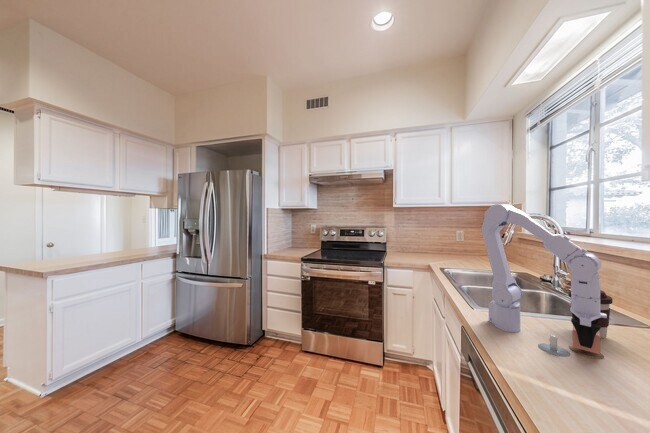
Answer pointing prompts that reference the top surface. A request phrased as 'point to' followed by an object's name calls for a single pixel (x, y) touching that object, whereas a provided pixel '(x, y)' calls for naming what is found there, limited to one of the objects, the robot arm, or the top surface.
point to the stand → (554, 348)
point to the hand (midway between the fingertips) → (585, 342)
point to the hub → (586, 353)
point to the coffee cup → (604, 309)
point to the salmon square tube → (594, 348)
